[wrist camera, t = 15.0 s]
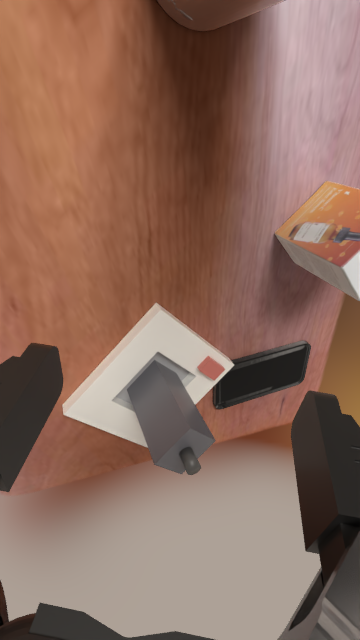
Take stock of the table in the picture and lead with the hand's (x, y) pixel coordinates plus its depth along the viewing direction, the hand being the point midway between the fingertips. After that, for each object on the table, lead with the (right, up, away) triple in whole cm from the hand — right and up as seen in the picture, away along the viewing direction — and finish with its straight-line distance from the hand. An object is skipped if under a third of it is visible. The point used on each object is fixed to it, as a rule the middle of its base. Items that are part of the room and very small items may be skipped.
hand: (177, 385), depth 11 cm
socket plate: (-3, -5, +31) cm, 32 cm away
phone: (+11, -5, +39) cm, 41 cm away
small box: (+15, +13, +29) cm, 35 cm away
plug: (-3, -5, +31) cm, 32 cm away
